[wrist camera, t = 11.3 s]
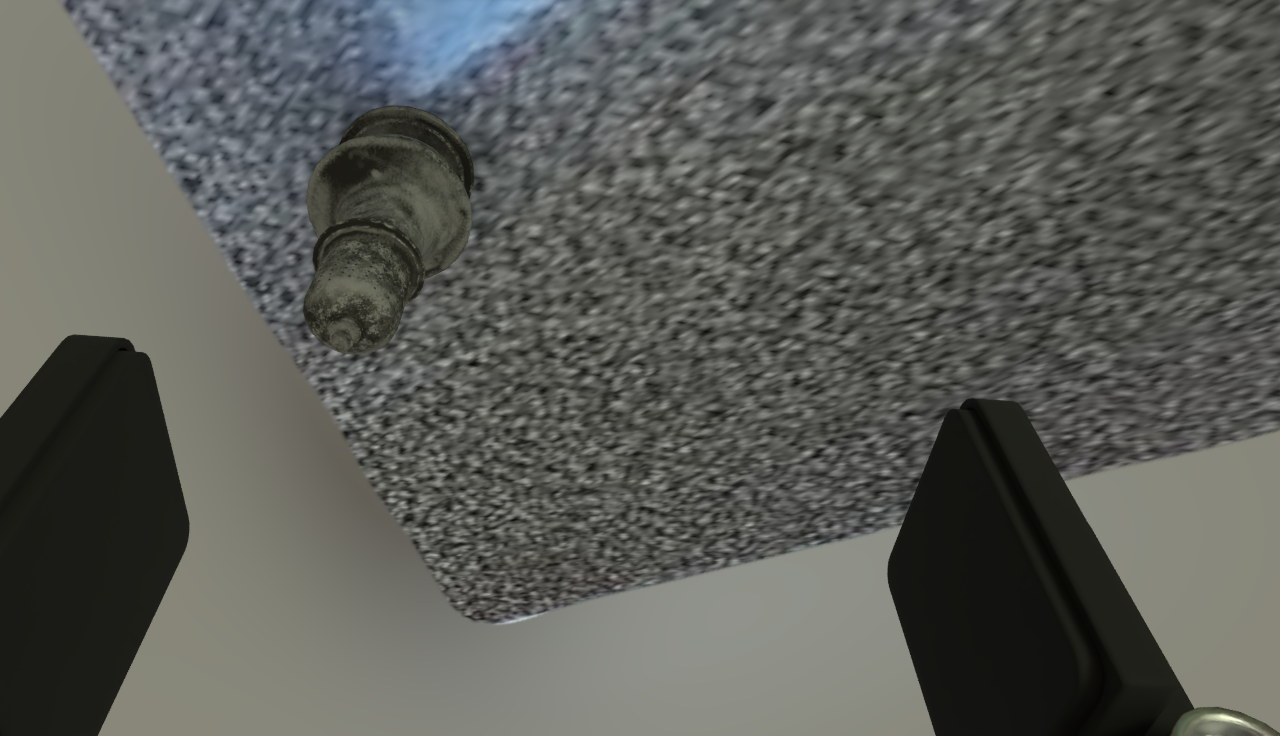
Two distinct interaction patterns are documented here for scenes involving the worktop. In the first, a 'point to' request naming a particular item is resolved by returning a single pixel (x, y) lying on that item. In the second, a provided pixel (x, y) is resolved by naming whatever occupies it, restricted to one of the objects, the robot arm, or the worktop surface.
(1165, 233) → the worktop surface
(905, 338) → the worktop surface
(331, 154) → the dark grey rounded piece
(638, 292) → the worktop surface
